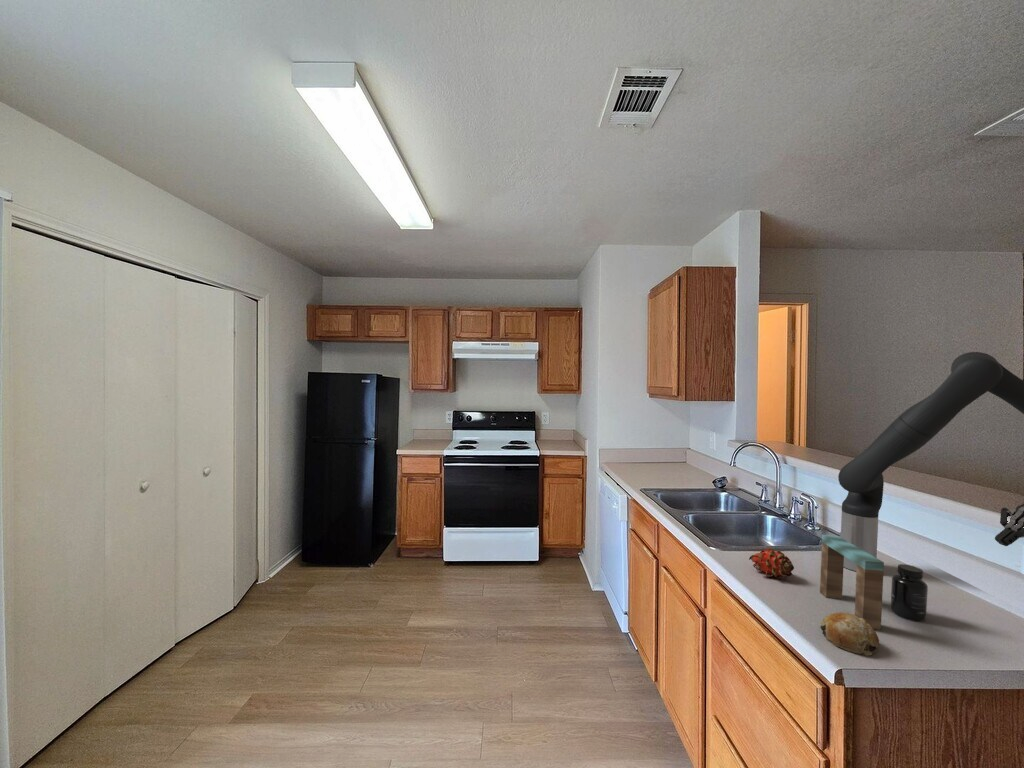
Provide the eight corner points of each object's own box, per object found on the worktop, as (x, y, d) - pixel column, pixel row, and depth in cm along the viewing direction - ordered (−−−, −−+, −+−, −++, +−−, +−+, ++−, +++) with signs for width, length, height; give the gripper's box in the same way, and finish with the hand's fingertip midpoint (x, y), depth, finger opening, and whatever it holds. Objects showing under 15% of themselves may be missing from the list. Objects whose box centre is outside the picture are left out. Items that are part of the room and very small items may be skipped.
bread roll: (849, 672, 95) (868, 647, 92) (806, 628, 104) (823, 604, 101) (876, 661, 99) (896, 637, 96) (833, 620, 108) (850, 597, 105)
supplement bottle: (883, 608, 116) (885, 562, 116) (907, 607, 117) (909, 562, 117) (908, 622, 110) (910, 573, 109) (934, 622, 110) (936, 573, 110)
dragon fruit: (796, 589, 129) (751, 581, 137) (800, 565, 134) (756, 558, 143) (788, 569, 126) (742, 562, 134) (792, 545, 131) (748, 540, 140)
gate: (819, 592, 124) (822, 534, 124) (835, 593, 124) (837, 535, 123) (862, 628, 106) (865, 560, 106) (880, 629, 106) (883, 562, 106)
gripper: (1019, 478, 116) (964, 522, 117) (1077, 491, 103) (1014, 540, 104) (1042, 500, 115) (986, 544, 117) (1103, 516, 102) (1039, 565, 104)
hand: (1000, 542), depth 111 cm, fingers closed
